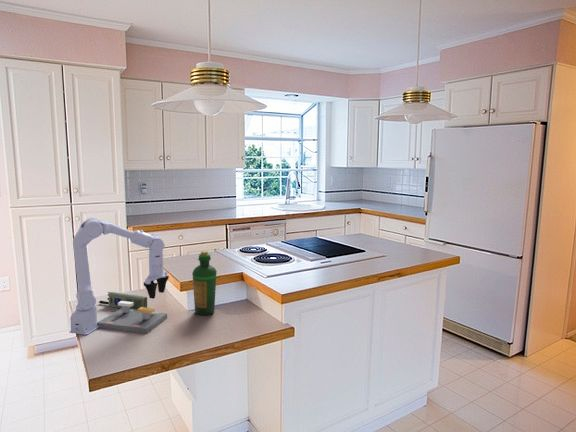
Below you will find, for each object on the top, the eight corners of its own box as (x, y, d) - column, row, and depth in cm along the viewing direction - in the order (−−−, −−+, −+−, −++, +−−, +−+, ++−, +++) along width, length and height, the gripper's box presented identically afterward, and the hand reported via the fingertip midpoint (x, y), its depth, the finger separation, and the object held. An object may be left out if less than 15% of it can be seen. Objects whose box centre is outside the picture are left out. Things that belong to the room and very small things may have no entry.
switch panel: (146, 333, 157) (146, 328, 156) (97, 327, 161) (97, 322, 161) (167, 317, 172) (167, 313, 172) (121, 312, 177) (121, 307, 176)
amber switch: (151, 320, 163) (151, 310, 163) (138, 318, 165) (137, 309, 164) (154, 318, 166) (154, 308, 165) (141, 316, 167) (141, 306, 166)
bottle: (190, 309, 182) (190, 249, 178) (214, 306, 186) (214, 248, 182) (194, 318, 172) (194, 255, 168) (219, 315, 176) (219, 253, 172)
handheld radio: (143, 313, 177) (97, 305, 184) (148, 310, 180) (102, 303, 187) (143, 298, 177) (97, 291, 183) (148, 296, 180) (102, 289, 187)
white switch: (130, 313, 170) (130, 304, 169) (118, 312, 171) (117, 302, 170) (134, 311, 172) (133, 302, 171) (121, 310, 173) (121, 300, 173)
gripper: (155, 270, 163) (156, 301, 165) (173, 261, 177) (173, 290, 179) (140, 268, 164) (141, 300, 166) (158, 259, 178) (159, 289, 180)
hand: (156, 295), depth 173 cm, fingers open, 7 cm apart
